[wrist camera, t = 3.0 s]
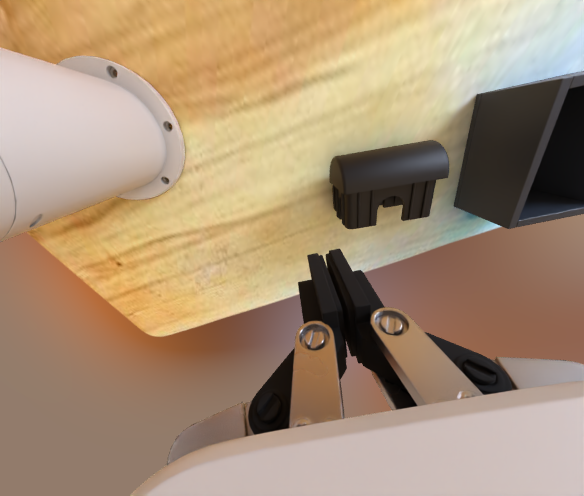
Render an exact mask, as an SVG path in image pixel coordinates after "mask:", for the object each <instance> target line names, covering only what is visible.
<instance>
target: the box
mask: <svg viewBox="0 0 584 496" xmlns="http://www.w3.org/2000/svg"><path fill="white" fill-rule="evenodd" d="M454 207H456V208H459V209H461V210H464V211H466V212H469V213H471V214H473V215H476V216H478V217H481V218H483V219H485V220H488V221H490V222H493V223H495V224H497V225H500V226H502V227H505V228H507V229H511V228H515V227H520V226H525V225H530V224H535V223H540V222H545V221H550V220H555V219H560V218H565V217H570V216H575V215H581V214H584V71H581V72H576V73H571V74H566V75H562V76H557V77H553V78H548V79H544V80H540V81H535V82H531V83H526V84H522V85H517V86H513V87H508V88H504V89H499V90H495V91H490V92H486V93H481V94H477V97H476V101H475V106H474V111H473V116H472V121H471V126H470V131H469V135H468V140H467V145H466V150H465V155H464V160H463V164H462V169H461V174H460V179H459V184H458V189H457V193H456V198H455V203H454Z"/></svg>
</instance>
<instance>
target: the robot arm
mask: <svg viewBox="0 0 584 496" xmlns="http://www.w3.org/2000/svg"><path fill="white" fill-rule="evenodd" d="M116 72H117V76H116ZM170 124H171V125H172V129H170V127H169V125H170ZM184 161H185V146H184V140H183V135H182V132H181V129H180V127H179V124H178V121H177V119H176V118H175V116H174V114H173V112H172V110H171V108H170V107H169V106H168V104H167V103H166V101H165V100H164V99H163V97H162V96H161V95H160V94H159V93H158V92H157V91H156V90H155V89H154V88H153V87H152V86H151V85H150V84H149V83H148V82H147V81H146V80H144V79H143V78H142V77H140V76H139V75H138V74H136V73H135V72H133V71H131V70H129V69H127V68H126V67H124V66H122V65H120V64H117V63H115V62H113V61H110V60H107V59H103V58H99V57H94V56H75V57H71V58H67V59H64V60H62V61H61V62H59V63H57V64H52V63H49V62H46V61H43V60H39V59H36V58H33V57H30V56H26V55H23V54H20V53H17V52H13V51H10V50H7V49H4V48H0V242H2V241H4V240H7V239H9V238H12V237H15V236H17V235H20V234H22V233H24V232H27V231H30V230H32V229H35V228H37V227H40V226H42V225H45V224H47V223H50V222H52V221H55V220H57V219H60V218H62V217H65V216H67V215H70V214H72V213H75V212H77V211H80V210H82V209H85V208H87V207H90V206H92V205H95V204H98V203H100V202H103V201H105V200H108V199H110V198H113V197H115V196H116V197H120V198H124V199H130V200H144V199H151V198H154V197H157V196H159V195H161V194H163V193H165V192H166V191H168V190H169V189H170V188H171V187H173V186H174V184H175V183H176V182H177V181H178V179H179V177H180V175H181V173H182V171H183V167H184ZM167 178H168V179H169V181H168V180H167ZM307 256H308V262H309V267H310V273H311V278H312V280H307V281H302V282H298V286H299V293H300V299H301V306H302V313H303V320H304V324H303V325H302V326H301V327H300V328H299V329H298V331H297V333H296V337H295V348H294V349H293V350H292V351H291V353H290V354H289V355H288V356H287V358H286V359H285V360H284V361H283V362H282V364H281V365H280V366H279V367H278V368H277V370H276V371H275V372H274V373H273V374H272V376H271V377H270V378H269V379H268V380H267V382H266V383H265V384H264V385H263V387H262V388H261V389H260V390H259V391H258V393H257V394H256V396H255V397H254V398H253V400H252V401H250V402H248V403H245V404H244V403H243V402H241V403H239V404H237V405H235V406H232V407H230V408H228V409H226V410H223V411H221V412H219V413H217V414H215V415H213V416H210V417H208V418H206V419H204V420H201V421H199V422H197V423H195V424H193V425H191V426H189V427H188V428H186V429H185V430H183V431H182V432H181V434H180V435H179V436H178V437H177V438H176V440H175V442H174V443H173V445H172V447H171V449H170V453H169V456H168V460H167V466H165V467H164V468H162V469H161V470H160V471H158V472H157V473H155V475H153V476H151V477H150V478H149V479H148V480H146V481H145V482H144V483H143V484H142V485H141V486H139V487H138V488H137V489H136V490H135V491H134V492H133V493H132V494H131V495H130V496H584V365H583V364H580V363H577V362H572V361H566V360H547V359H527V358H506V357H496V359H495V360H490V359H488V358H487V357H485V356H483V355H481V354H478V353H476V352H473V351H471V350H468V349H466V348H463V347H461V346H459V345H456V344H454V343H451V342H449V341H446V340H444V339H441V338H439V337H436V336H434V335H431V334H429V333H426V332H424V331H423V330H422V329H421V328H420V327H419V326H418V325H417V324H416V323H415V322H414V321H413V320H412V319H411V318H410V317H409V316H408V315H407V314H406V313H404V312H403V311H401V310H399V309H396V308H390V307H384V306H383V304H382V302H381V301H380V299H379V297H378V296H377V294H376V292H375V291H374V289H373V288H372V286H371V284H370V283H369V282H368V280H367V278H366V277H365V275H364V273H363V272H362V271H361V270H358V271H352V270H351V268H350V266H349V264H348V262H347V261H346V259H345V257H344V255H343V253H342V251H341V250H340V249H336V250H331V251H329V254H326V261H327V267H326V264H325V261H324V259H323V256H322V255H320V256H318V253H316V254H311V255H307ZM346 342H347V345H348V347H349V351H350V354H351V356H356V358H357V361H358V363H362V364H363V366H365V367H366V368H368V369H370V370H371V372H372V375H373V377H374V379H375V380H376V383H377V384H378V386H379V388H380V389H381V392H382V393H383V395H384V397H385V399H386V401H387V402H388V404H389V406H390V408H391V409H392V411H387V412H381V413H375V414H369V415H363V416H358V417H351V418H346V419H345V417H344V407H343V399H342V390H341V382H340V379H341V378H342V376H343V374H344V372H345V370H346V369H347V366H346V357H347V349H346Z"/></svg>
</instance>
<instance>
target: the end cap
mask: <svg viewBox="0 0 584 496" xmlns="http://www.w3.org/2000/svg"><path fill="white" fill-rule="evenodd" d="M448 175H449V160H448V156H447V153H446V151H445V149H444V147H443V146H442V145H441V144H440V143H438V142H436V141H433V140H430V141H423V142H417V143H411V144H405V145H399V146H393V147H388V148H382V149H376V150H370V151H364V152H358V153H352V154H346V155H341V156H335V157H334V158H333V159H332V161H331V165H330V183H331V184H332V185H333V204H334V209H335V211H336V212H337V217H338V218H339V219H342V224H343V225H344V226H345V227H346V228H347V229H356V228H363V227H369V226H375V225H376V219H377V209H378V207H379V205H383V207H384V208H385V207H391V206H397V205H403V208H402V216H401V220H403V221H405V220H411V219H417V218H423V217H428V216H429V214H430V209H431V204H432V199H433V193H434V188H435V183H436V180H437V179H443V178H448Z"/></svg>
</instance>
